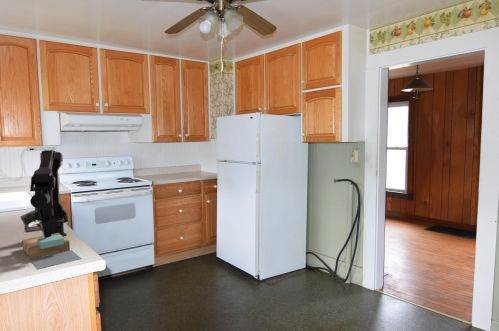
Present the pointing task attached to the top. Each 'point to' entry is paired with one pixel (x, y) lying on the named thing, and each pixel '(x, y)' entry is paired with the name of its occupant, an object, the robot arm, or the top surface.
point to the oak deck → (35, 251)
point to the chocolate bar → (32, 227)
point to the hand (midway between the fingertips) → (47, 240)
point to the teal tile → (50, 241)
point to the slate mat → (54, 259)
